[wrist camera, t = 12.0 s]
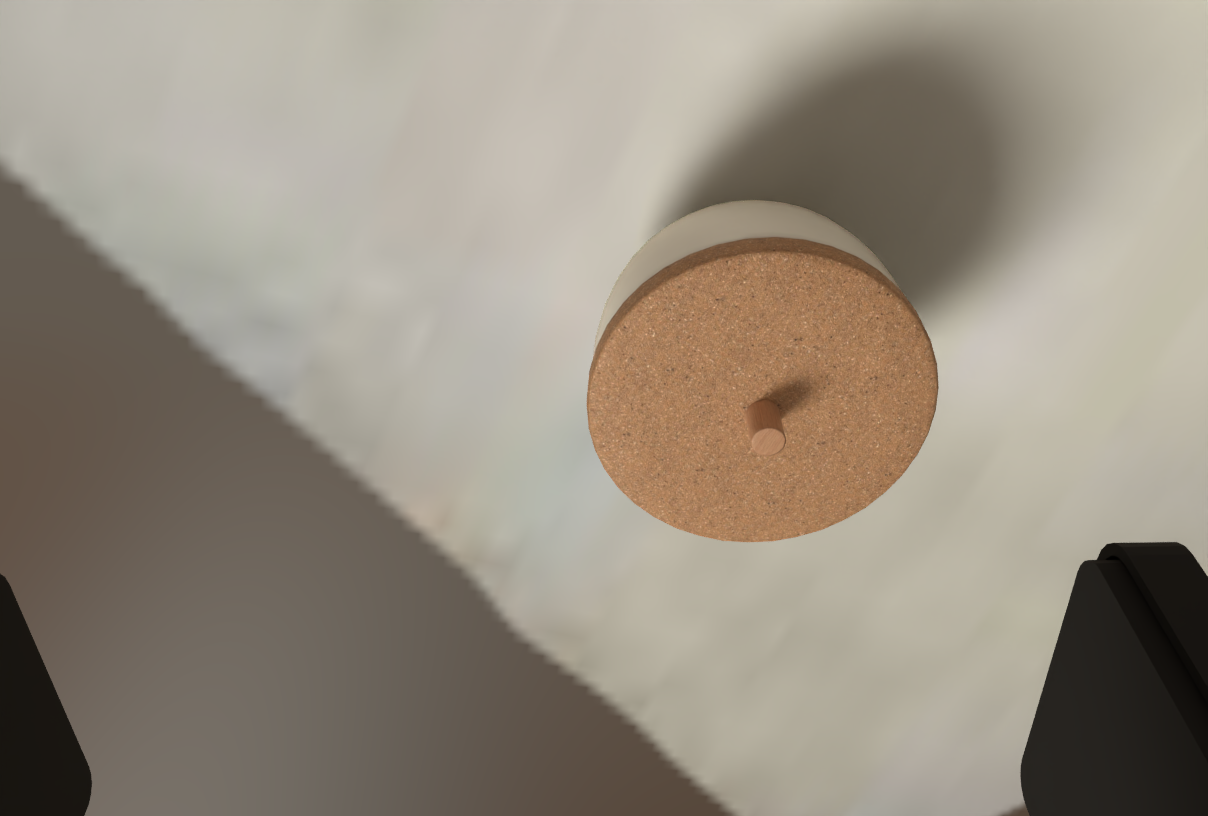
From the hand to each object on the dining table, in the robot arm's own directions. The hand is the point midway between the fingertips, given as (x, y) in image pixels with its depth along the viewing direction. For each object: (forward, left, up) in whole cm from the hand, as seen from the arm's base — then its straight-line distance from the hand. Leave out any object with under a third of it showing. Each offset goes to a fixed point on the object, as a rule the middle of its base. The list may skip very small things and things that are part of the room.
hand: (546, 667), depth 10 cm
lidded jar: (-5, +11, -28) cm, 31 cm away
